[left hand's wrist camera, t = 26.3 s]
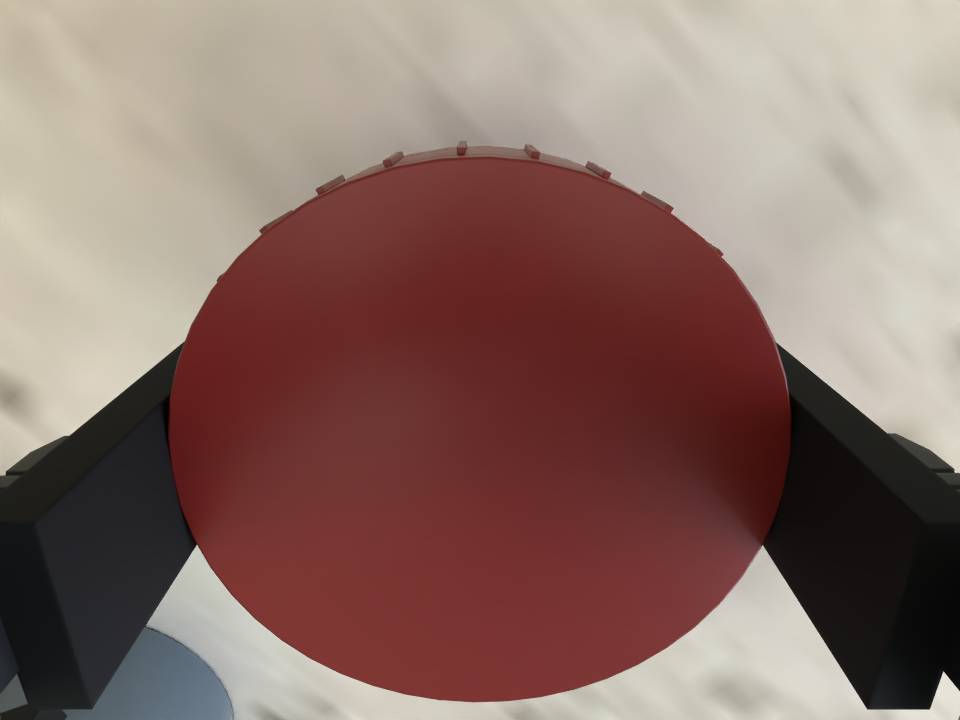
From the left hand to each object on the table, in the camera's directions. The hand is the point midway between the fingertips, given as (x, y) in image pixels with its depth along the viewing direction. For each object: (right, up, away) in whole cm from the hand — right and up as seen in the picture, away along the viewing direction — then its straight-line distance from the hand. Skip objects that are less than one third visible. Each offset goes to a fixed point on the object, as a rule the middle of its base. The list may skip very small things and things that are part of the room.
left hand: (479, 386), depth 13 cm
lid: (0, -1, -3) cm, 3 cm away
